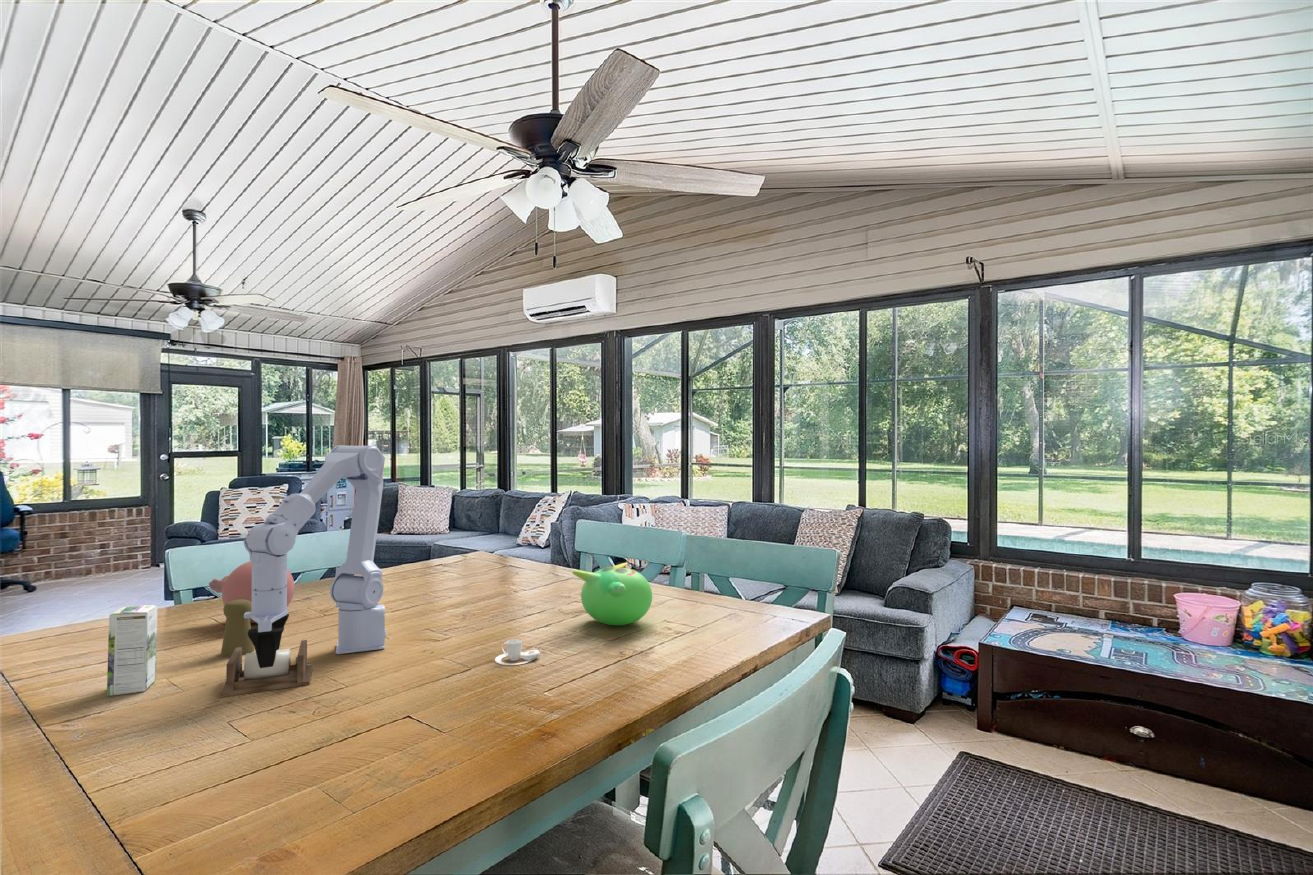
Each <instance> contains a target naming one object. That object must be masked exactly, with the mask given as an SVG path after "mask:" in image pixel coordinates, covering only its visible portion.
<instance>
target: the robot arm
mask: <svg viewBox="0 0 1313 875" xmlns="http://www.w3.org/2000/svg"><path fill="white" fill-rule="evenodd" d="M324 457H325V458H324V463H323V465H322V466H320V468H319V469H318V471H316V473H315V474H314V476H313V477H312V478H311V479H310V480H309V482H308V483H307V484H306V485H305V487H303V489H302V491H300V492H299V493H291V494H289V495H286V496H285V497H283V498H282V502H281V503H280V505H278V507H277V508H276V509H275V510H274V511H273V512H272V513H271V514H269V515H268V516H266V518H265V520H264V522H263V523H258V524H256V525H254V526H253V527H252V528H250V530H249V531H248V533H247V534H246V539H243V545H244V546H243V547H244V548H245V550H246V551H247V552H248V554H249V561H251V563H252V612H246V613H245V614H244V618H251V619H252V620H254V621H255V623H254V624H255V625H256V627H257V628H251V629H249V631H248V637H249V638H250V640H251V641H252V643H253V645H254V651H255V652H256V655H257V660H258V664H259V667H260V668H266V667H273V664H274V661H275V657H276V651H277V650H280V646H281V645H280V644H281V641H282V636H283V632H284V631H285V625H286V623H287V621H288V619H289V617H290V613H289V608H288V607H287V569H288V553H289V551H291V550H292V549H293V548H294V546H295V543H296V539H297V538H296V537H297V536H298V534H299V531H300V530H301V529H302V528H303V527H304V525H305V524H306V523H307V522H308V521H309V520H310V519H311V518H312V517H313V515H314V514H315V513H316V510H317V508H316V503H317V502H319V501H320V499H322V498H323V496H325V495H326V494H327V493H328V492H329V491H330V490H331V489H332V488H333V487H334V486H335V485H336V484H337V483H338V482H339V481H340V480H341V479H345V481H346V482H349V483H350V484H351V486H352V487H353V488H354V489H355V495H354V500H353V501H354V503H353V509H352V516H351V524H350V531H349V538H348V539H349V540H348V544H347V545H348V546H347V552H346V560H345V562H344V563H342V564H341V565H339V567H337V568H336V570H335V575H334V576H335V577H334V579H333V580H332V582H331V585H330V588H329V595H330V598H331V600H332V602H334V603H336V605H335V608H338V628H337V629H338V636H337V637H338V640H337V642H336V648H335V655H344V654H353V653H360V652H368V651H369V652H370V651H375V650H377V651H378V650H383V649H385V648H386V645H385V641H386V640H385V639H386V638H387V629H386V628H385V627H386V619H385V618H386V617H385V615H386V614H385V612H386V611H385V610H386V609H385V604H379V603H380V601H381V599H382V597H383V595H384V594H383V593H384V584H383V571H382V570H381V568H380V567H378V566H377V564H375V562H374V558H375V551H376V544H377V537H378V528H379V520H380V513H381V505H382V498H383V497H382V496H383V488H384V469H385V461H386V456H384V454H383V452H382V451H381V450H380V449H379V448H378V446H376V445H373V444H371V445H370V444H369V445H345V444H344V445H343V444H339V445H336V446H333V448H332V449H331V450H330V452H329V453H328V454H326V455H325V456H324Z"/></svg>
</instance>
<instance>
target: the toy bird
mask: <svg viewBox="0 0 1313 875" xmlns="http://www.w3.org/2000/svg"><path fill="white" fill-rule="evenodd" d="M627 565H628V562H622V563H619V564H617V565H612V566H607V567H604V568H602V569H601V568H600V569H598V570H596V571H595V572H591V571H586V570H576V569H575V570H572V572H571V574H573V575H574V576H576V577H577V578H579V579H581V580H583V581H584V583H583V585H582V588H581V592H580V600H581V604H582V606H583V609H584V610H585V612H586V613H587V614H588V615H589V616H590V617H591V618H592V619H593V620H595V621H597V622H599V623H601V624H605V625H608V626H626V625H630V624H633V623H635V622H638V621H639V620H641V619H642V618H644V616H646V614H647V613H648V611H649V610H650V608H651V606H652V602H653V590H652V588H651V585H650V583H649V582H648V580H647V579H646V577H645V576H643V574H642V573H639V572H638V571H637V570H634V569H632V568H628V567H626V566H627Z"/></svg>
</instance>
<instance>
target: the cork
mask: <svg viewBox="0 0 1313 875" xmlns="http://www.w3.org/2000/svg"><path fill="white" fill-rule="evenodd" d="M251 611H252V603H251V602H250V601H249V600H243V599H241V600H233V601H230V602H228V603H226V604H225V606H224V605H223V616H225V618H226V619H225V624H224V625H225V626H224V632H223V639H222V645H221V651H220V656H221V657H223V658H225V657H226V658H227V657H228V658H230V657H231V655H232V654H233V652H234V650H235V648H238V647H242V656H246V654H247V653H254V651H255V648H254V645H253V643H252V641H251V640H250V638H249V637H248V631H249V629H252V625H251V623H250V618H244V614H245V613H246V612H251Z"/></svg>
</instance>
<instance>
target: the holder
mask: <svg viewBox="0 0 1313 875" xmlns="http://www.w3.org/2000/svg"><path fill="white" fill-rule="evenodd" d="M313 666H314V665H313V664H308V639H303V640H300V644H299V648H298V652H297V656H295V663H291V665H290V674H289V675H287V676H279V677H271V678H264V679H256V680H248V681H245V680H244V669H243V655H242V647H238V648H235V650H234V652H233V654H232V655H231V657H229V659H228V661H227V663H226V668H225V669H226V674H225V675H226V676H225V677H226V678H225V679H226V681H225V683H224V685H223V686H222V688H221V690H220V692H219V698H221V697H228V696H229V697H230V696H237V695H244V694H250V693H258V692H259V693H260V692H267V691H272V690H281V689H287V688H288V689H289V688H295V687H300V686H301V687H302V686H309V685H310V684H311V679H312V674H313Z"/></svg>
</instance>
